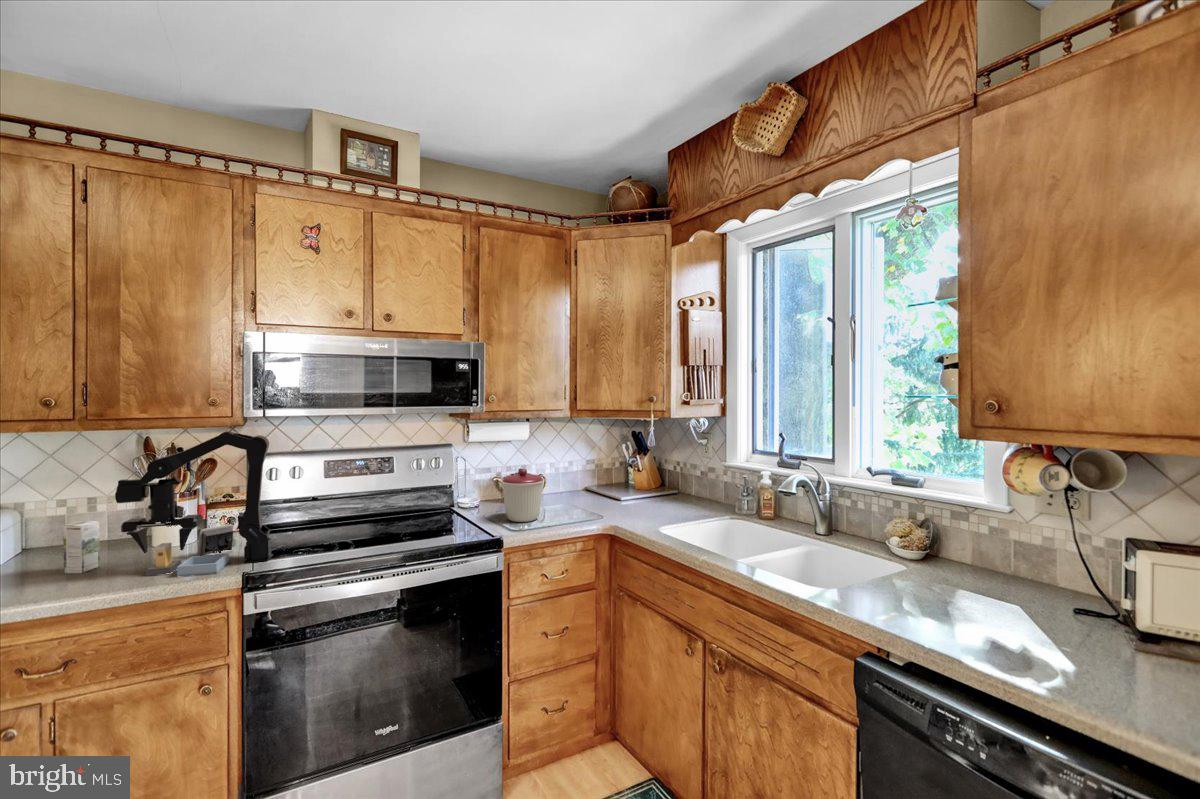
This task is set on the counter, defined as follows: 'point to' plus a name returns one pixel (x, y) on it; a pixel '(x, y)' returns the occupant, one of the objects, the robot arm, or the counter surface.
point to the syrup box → (81, 546)
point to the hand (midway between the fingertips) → (164, 551)
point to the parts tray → (203, 565)
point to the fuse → (163, 555)
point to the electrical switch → (215, 539)
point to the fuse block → (162, 568)
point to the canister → (522, 496)
